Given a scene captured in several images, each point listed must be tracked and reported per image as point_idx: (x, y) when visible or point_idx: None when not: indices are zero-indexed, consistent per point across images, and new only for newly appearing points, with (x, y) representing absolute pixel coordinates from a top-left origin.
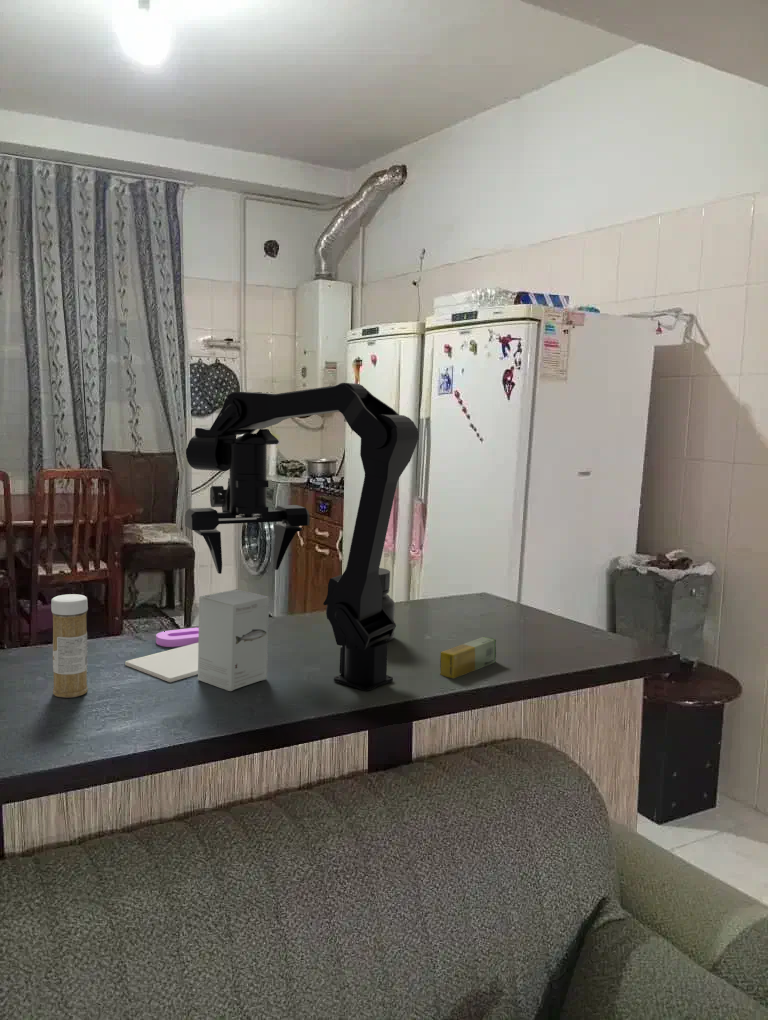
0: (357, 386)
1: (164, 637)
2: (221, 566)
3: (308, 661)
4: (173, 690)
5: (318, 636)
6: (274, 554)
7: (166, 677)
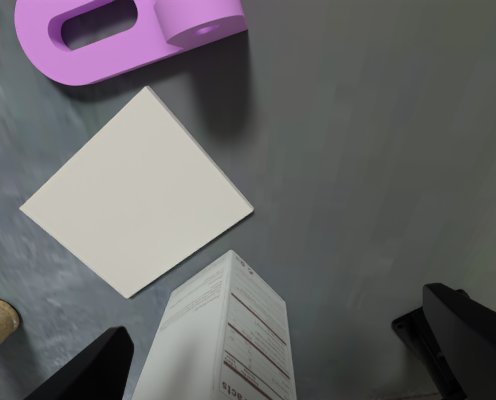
0: None
1: (47, 61)
2: (121, 393)
3: (384, 223)
4: (141, 321)
5: (491, 17)
6: (484, 356)
7: (120, 292)
